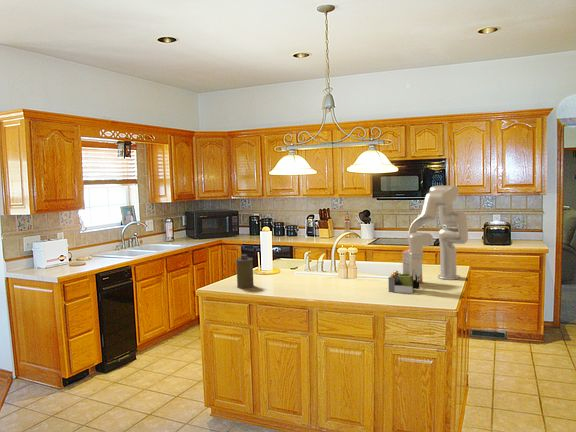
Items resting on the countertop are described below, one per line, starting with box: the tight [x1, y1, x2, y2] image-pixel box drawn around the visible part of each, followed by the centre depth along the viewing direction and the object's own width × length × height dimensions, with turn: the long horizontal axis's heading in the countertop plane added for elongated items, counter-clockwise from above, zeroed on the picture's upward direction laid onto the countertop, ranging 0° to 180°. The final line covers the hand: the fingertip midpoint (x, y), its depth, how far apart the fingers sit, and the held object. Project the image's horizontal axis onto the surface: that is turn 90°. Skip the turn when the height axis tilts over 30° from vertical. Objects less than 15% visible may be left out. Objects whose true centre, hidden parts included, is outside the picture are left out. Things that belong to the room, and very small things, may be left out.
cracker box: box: [401, 248, 423, 284], centre depth 283 cm, size 14×6×21 cm, turn 137°
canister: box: [235, 254, 255, 289], centre depth 292 cm, size 11×10×20 cm
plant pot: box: [399, 273, 413, 286], centre depth 268 cm, size 9×9×9 cm
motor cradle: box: [387, 270, 414, 295], centre depth 269 cm, size 15×14×10 cm
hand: (416, 288), depth 266 cm, fingers closed
